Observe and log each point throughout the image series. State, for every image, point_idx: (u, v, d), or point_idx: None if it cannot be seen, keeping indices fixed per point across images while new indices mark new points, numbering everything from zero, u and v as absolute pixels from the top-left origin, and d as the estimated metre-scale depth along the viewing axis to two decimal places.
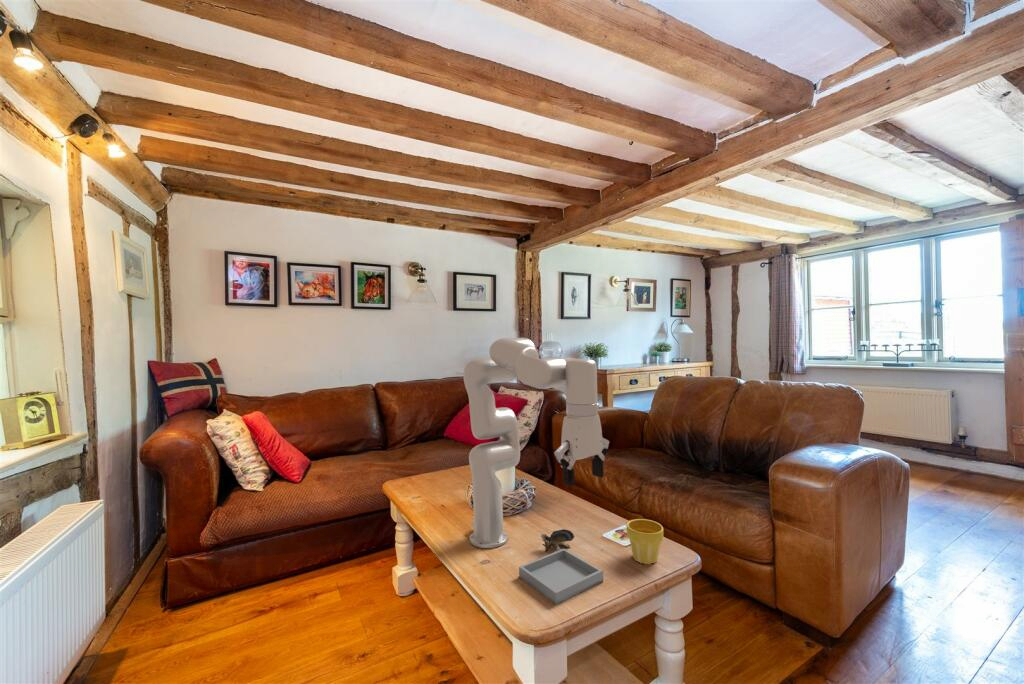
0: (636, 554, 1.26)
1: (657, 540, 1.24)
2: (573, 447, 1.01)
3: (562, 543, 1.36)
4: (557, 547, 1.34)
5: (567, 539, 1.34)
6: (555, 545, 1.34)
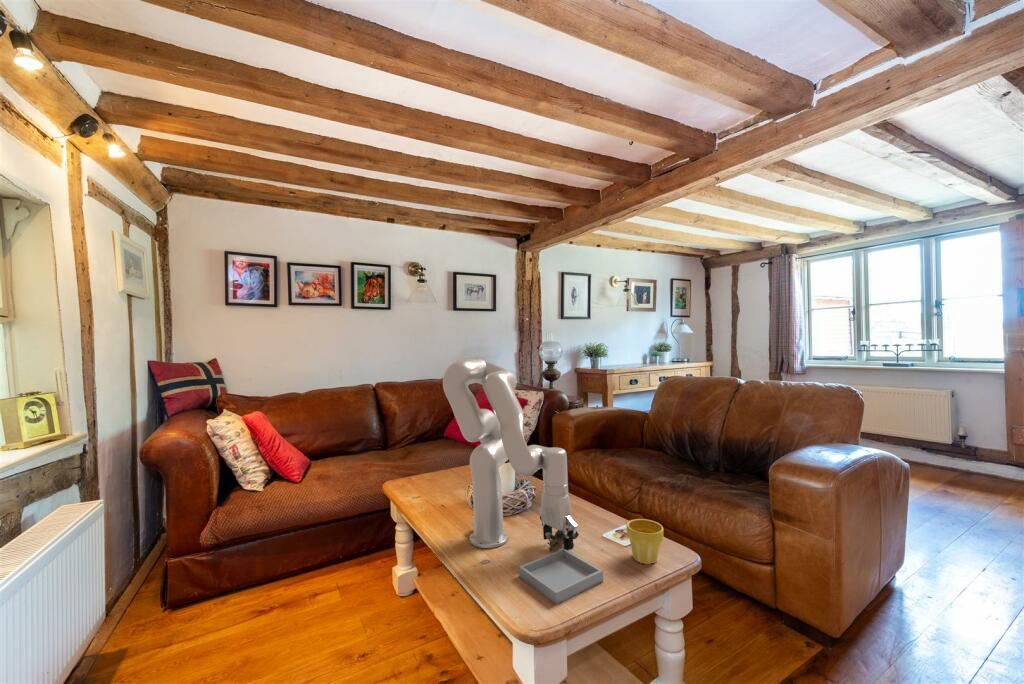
0: (636, 554, 1.26)
1: (657, 540, 1.24)
2: (571, 517, 1.32)
3: None
4: (562, 545, 1.35)
5: None
6: (560, 543, 1.35)
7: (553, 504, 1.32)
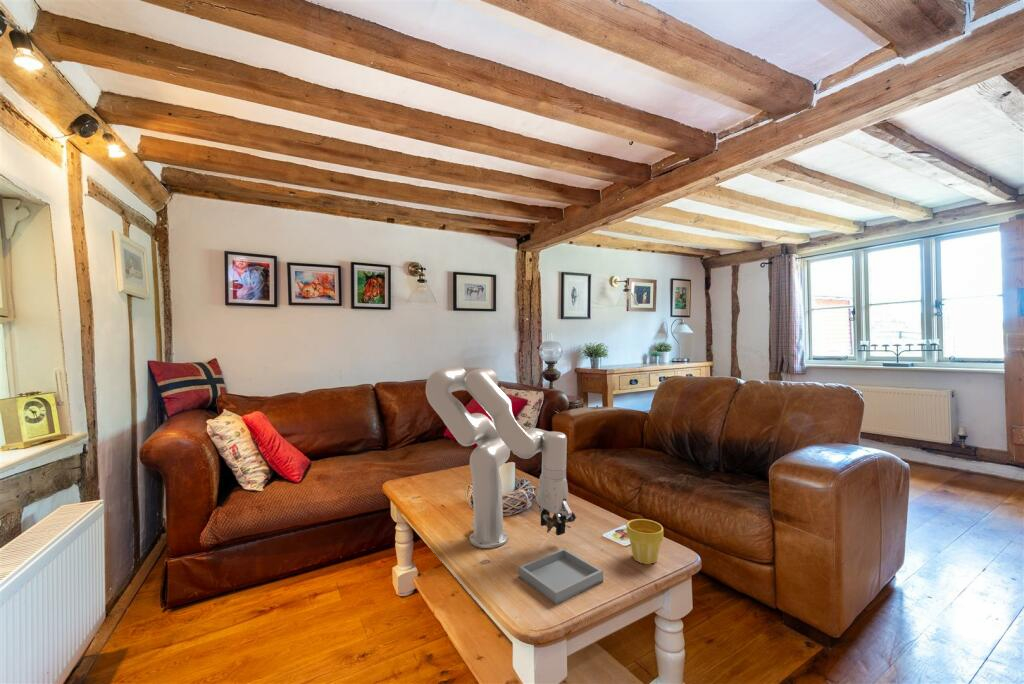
0: (636, 554, 1.26)
1: (657, 540, 1.24)
2: None
3: None
4: None
5: (568, 520, 1.36)
6: None
7: (550, 488, 1.32)
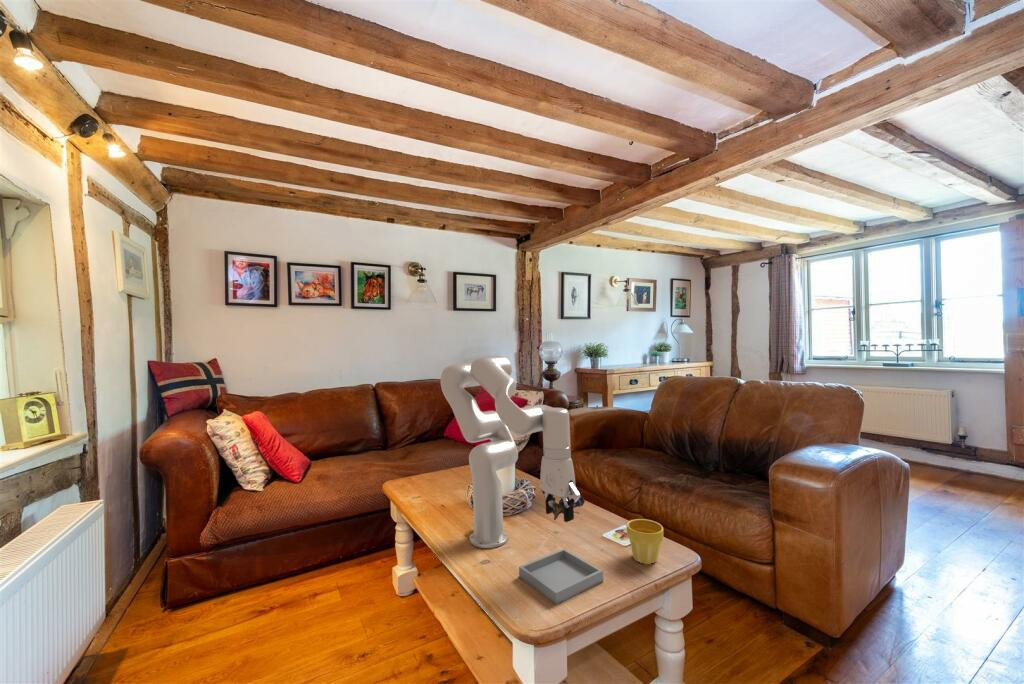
0: (636, 554, 1.26)
1: (657, 540, 1.24)
2: None
3: None
4: None
5: (577, 504, 1.23)
6: None
7: (554, 469, 1.19)
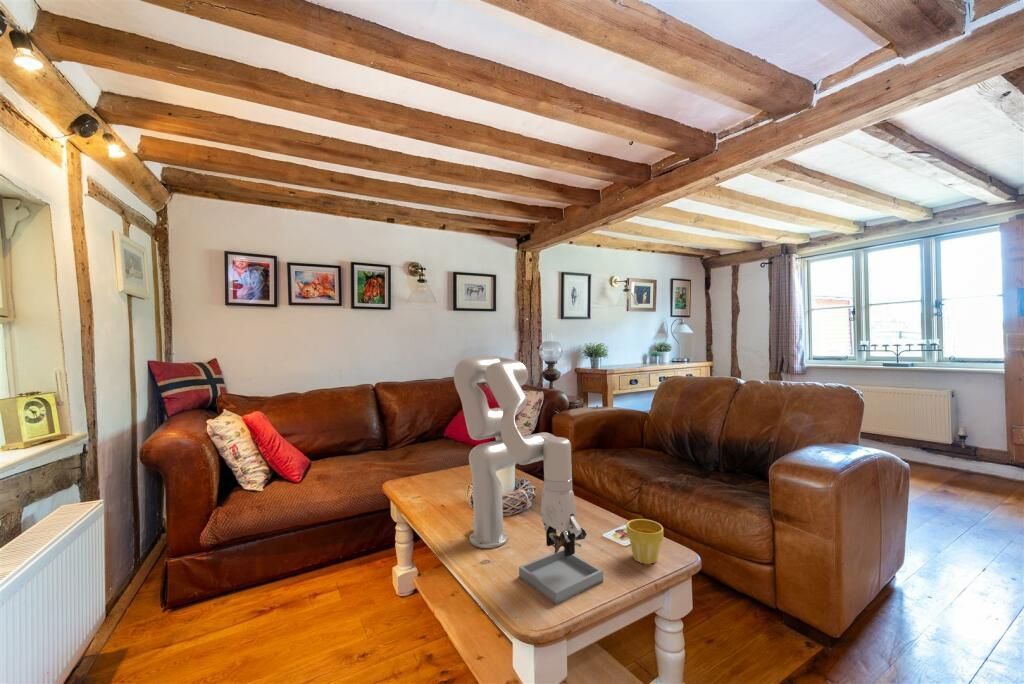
0: (636, 554, 1.26)
1: (657, 540, 1.24)
2: (576, 517, 1.15)
3: None
4: None
5: (578, 537, 1.19)
6: None
7: (555, 502, 1.15)
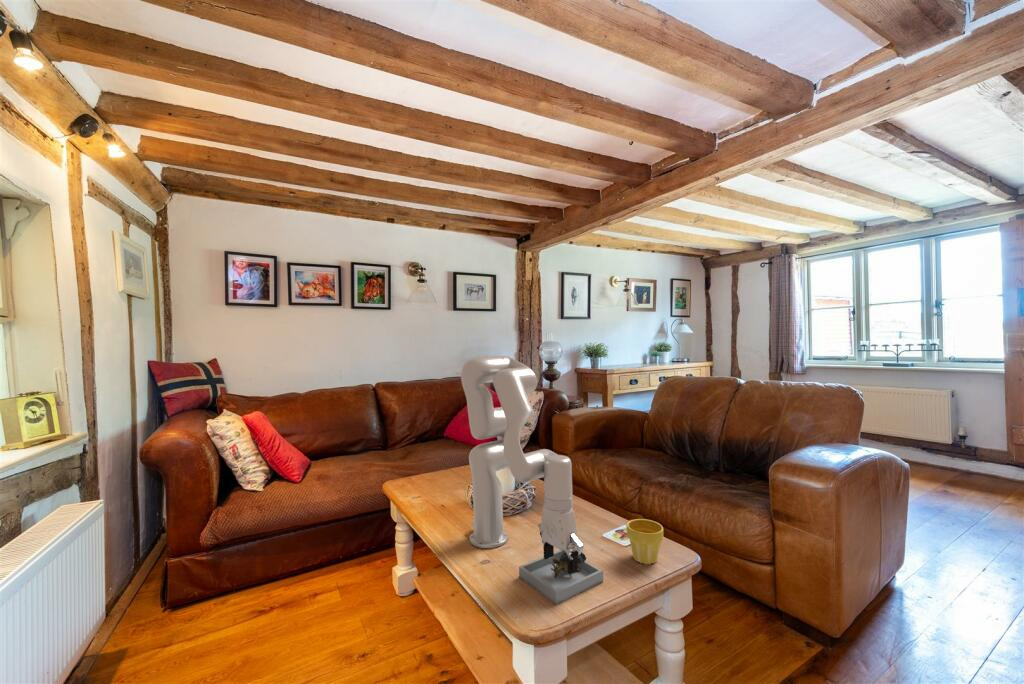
0: (636, 554, 1.26)
1: (657, 540, 1.24)
2: (576, 535, 1.16)
3: None
4: None
5: (578, 561, 1.19)
6: (565, 569, 1.18)
7: (555, 520, 1.15)
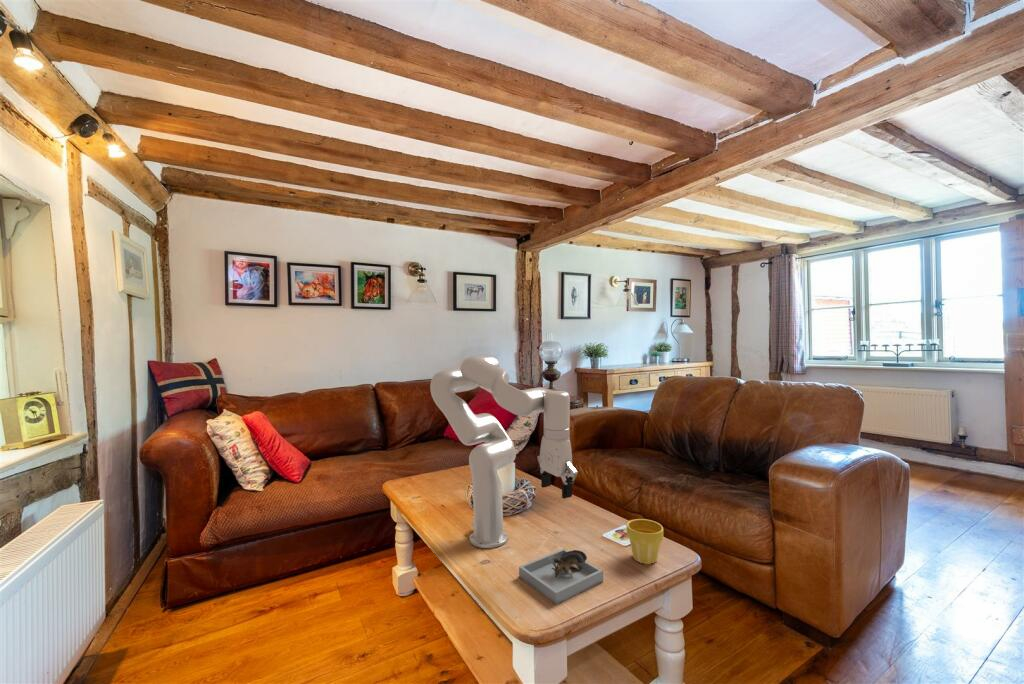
0: (636, 554, 1.26)
1: (657, 540, 1.24)
2: (571, 464, 1.24)
3: (573, 565, 1.21)
4: (568, 571, 1.18)
5: (579, 561, 1.20)
6: (566, 568, 1.18)
7: (552, 449, 1.23)
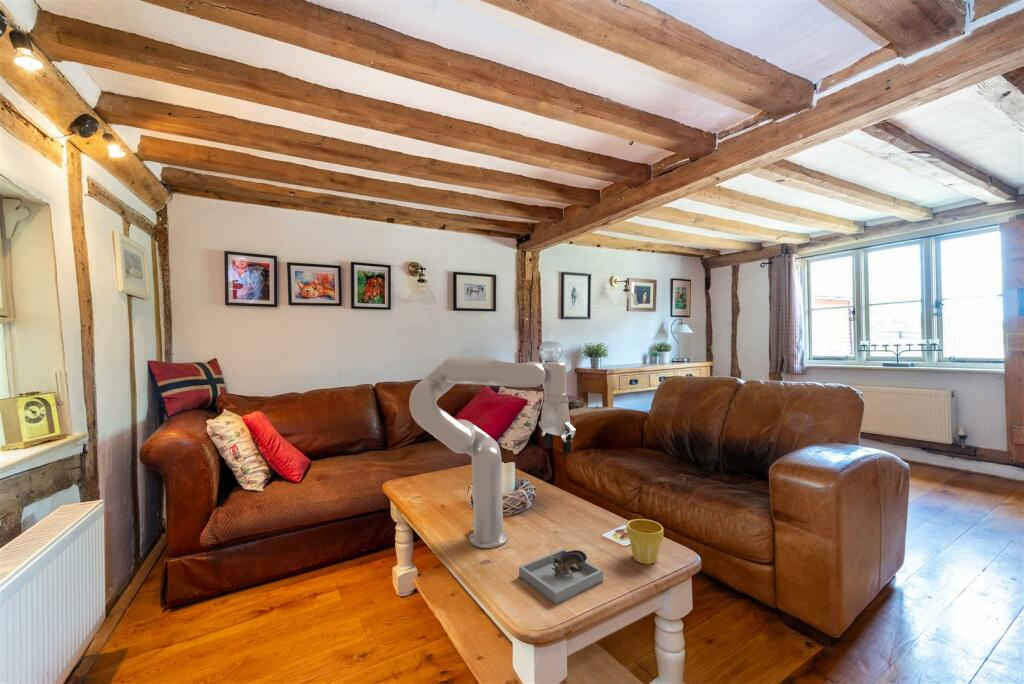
0: (636, 554, 1.26)
1: (657, 540, 1.24)
2: None
3: (573, 565, 1.21)
4: (569, 571, 1.18)
5: (579, 561, 1.20)
6: (566, 568, 1.18)
7: (552, 412, 1.41)
